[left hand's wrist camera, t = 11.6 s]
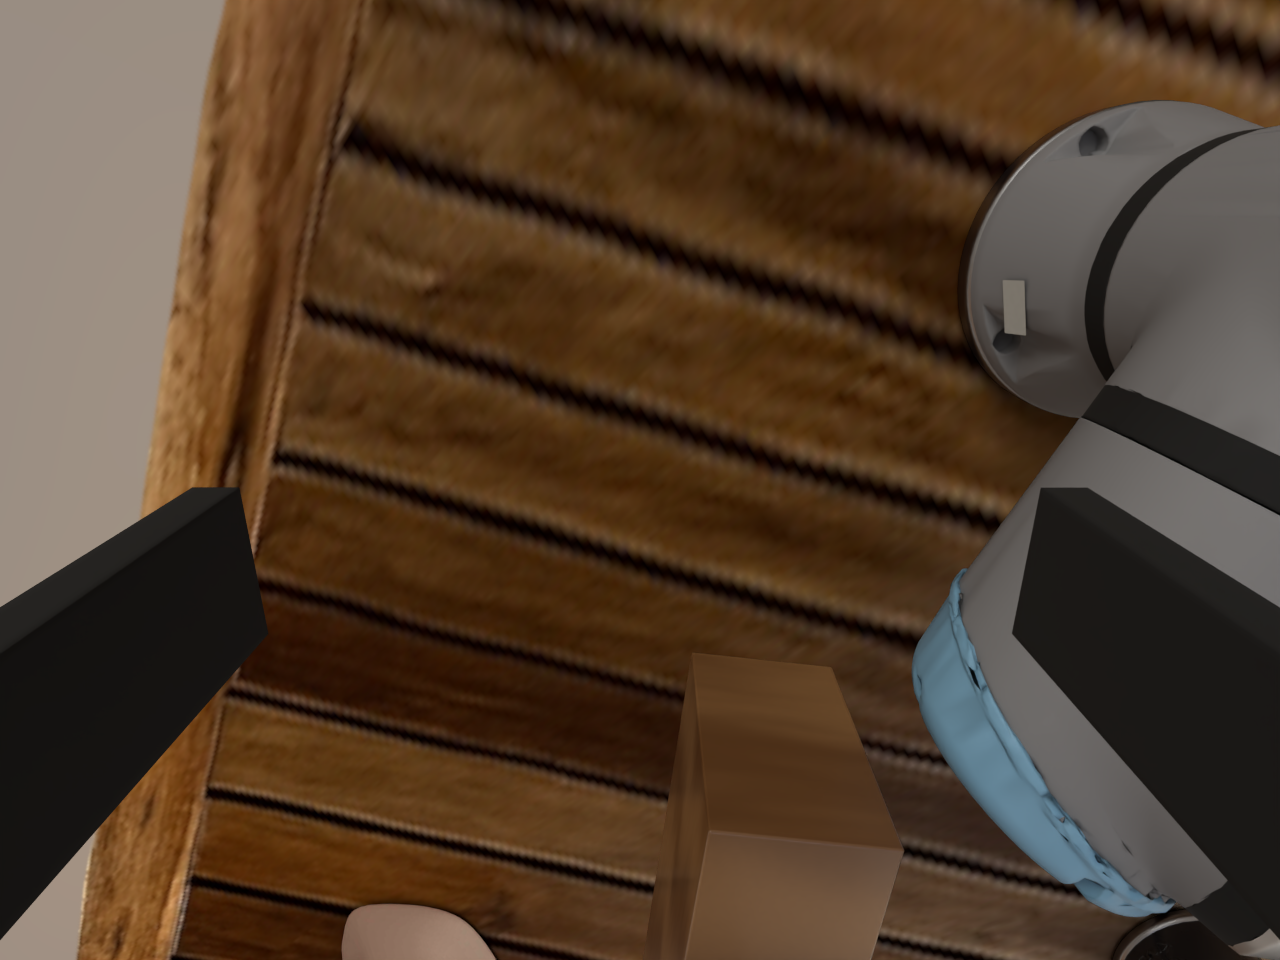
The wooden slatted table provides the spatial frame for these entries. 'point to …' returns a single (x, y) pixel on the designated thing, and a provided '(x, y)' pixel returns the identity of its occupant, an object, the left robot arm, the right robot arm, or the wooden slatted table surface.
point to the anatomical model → (410, 935)
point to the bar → (770, 822)
